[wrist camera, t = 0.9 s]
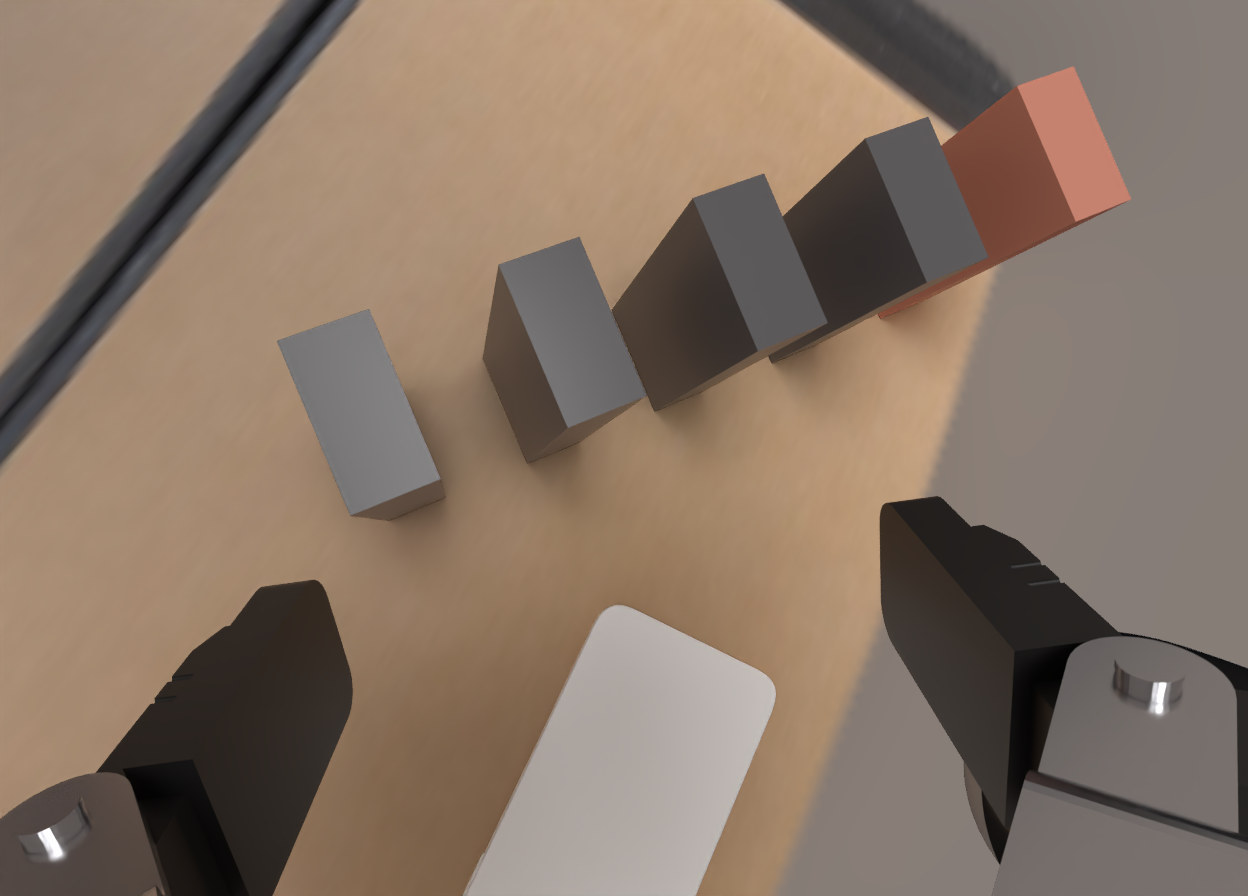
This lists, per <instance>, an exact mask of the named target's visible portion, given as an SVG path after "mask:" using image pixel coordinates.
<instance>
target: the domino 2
mask: <svg viewBox="0 0 1248 896" xmlns="http://www.w3.org/2000/svg"><path fill="white" fill-rule="evenodd" d="M483 360H484V363H485V365H486V367H487V370H488V372H489V374H490V377H491V379H492V381H493V384H494V386H495V389H496V391H497V393H498V396H499V398H500V400H501V403H502V405H503V407H504V410H505V412H506V415H507V417H508V419H509V422H510V424H511V426H512V429H513V431H514V433H515V436H516V438H517V441H518V443H519V445H520V448H521V450H522V452H523V455H524V457H525V460H526V462H527V464H528V463H530V462H533V461H535V460H538V459H540V458H542V457H545V456H547V455H550V454H552V453H554V452H557V451H559V450H562V449H564V448H567V447H569V446H571V445H574V444H576V443H579V442H580V441H582V440H583V439H585V438H586V437H588V436H589V435H591V434H592V433H593V432H595V431H596V430H598V429H599V428H601V427H602V426H604V425H605V424H607V423H608V422H609V421H611V420H612V419H614V418H615V417H617V416H618V415H620V414H621V413H623V412H624V411H625V410H627V409H628V408H630V407H631V406H633V405H634V404H636V403H637V402H639V401H640V400H641V399H643V398H644V397H646V396H647V395H646V393H645V390H644V388H643V385H642V383H641V381H640V378H639V376H638V374H637V371H636V369H635V367H634V364H633V362H632V360H631V357H630V355H629V353H628V350H627V348H626V345H625V343H624V341H623V338H622V336H621V334H620V331H619V329H618V327H617V324H616V322H615V320H614V317H613V315H612V313H611V310H610V308H609V305H608V303H607V301H606V298H605V296H604V294H603V291H602V289H601V287H600V284H599V282H598V280H597V277H596V275H595V272H594V270H593V268H592V265H591V263H590V261H589V258H588V256H587V254H586V251H585V249H584V247H583V244H582V242H581V240H580V237H577V238H574V239H571V240H569V241H566V242H563V243H560V244H557V245H554V246H551V247H548V248H545V249H543V250H540V251H537V252H534V253H531V254H528V255H525V256H522V257H519V258H517V259H514V260H511V261H508V262H505V263H502V264H499V266H498V272H497V277H496V283H495V289H494V295H493V301H492V307H491V313H490V318H489V324H488V330H487V336H486V342H485V348H484V354H483Z"/></svg>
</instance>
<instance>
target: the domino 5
mask: <svg viewBox="0 0 1248 896" xmlns="http://www.w3.org/2000/svg"><path fill="white" fill-rule="evenodd" d="M941 148H942V150H943V152H944V155H945V157H946V159H947V162H948V164H949V166H950V168H951V171H952V173H953V175H954V178H955V180H956V182H957V185H958V187H959V189H960V192H961V194H962V196H963V199H964V201H965V203H966V206H967V208H968V210H969V213H970V215H971V217H972V220H973V222H974V224H975V227H976V229H977V231H978V234H979V236H980V238H981V241H982V243H983V245H984V247H985V250H986V252H987V254H988V257H989V258H987V259H985V260H983V261H981V262H979V263H977V264H975V265H973V266H971V267H969V268H967V269H965V270H963V271H961V272H959V273H957V274H955V275H953V276H951V277H949V278H947V279H945V280H943V281H941V282H939V283H937V284H935V285H933V286H931V287H929V288H927V289H925V290H923V291H921V292H919V293H918V294H916V295H914V296H912V297H910V298H908V299H906V300H904V301H902V302H900V303H898V304H896V305H894V306H892V307H890V308H888V309H886V310H884V311H882V312H880V313H878V315H879V317H880V319H881V318H883V317H886V316H888V315H890V314H893V313H895V312H898V311H900V310H902V309H905V308H907V307H910V306H912V305H915V304H917V303H919V302H922V301H924V300H926V299H928V298H930V297H932V296H934V295H936V294H938V293H940V292H942V291H944V290H946V289H948V288H950V287H952V286H955V285H957V284H959V283H961V282H963V281H965V280H967V279H969V278H971V277H973V276H975V275H977V274H979V273H981V272H983V271H985V270H987V269H989V268H991V267H993V266H996V265H998V264H1000V263H1002V262H1004V261H1006V260H1008V259H1010V258H1012V257H1014V256H1016V255H1018V254H1020V253H1022V252H1024V251H1026V250H1028V249H1030V248H1032V247H1035V246H1037V245H1039V244H1041V243H1042V242H1045V241H1047V240H1049V239H1051V238H1053V237H1055V236H1057V235H1059V234H1061V233H1063V232H1065V231H1067V230H1069V229H1071V228H1073V227H1076V226H1078V225H1079V224H1082V223H1084V222H1086V221H1088V220H1090V219H1092V218H1094V217H1096V216H1098V215H1100V214H1102V213H1104V212H1106V211H1108V210H1110V209H1112V208H1114V207H1116V206H1119V205H1120V204H1123V203H1125V202H1127V201H1129V200H1131V197H1130V195H1129V193H1128V191H1127V188H1126V186H1125V184H1124V181H1123V179H1122V177H1121V174H1120V172H1119V170H1118V168H1117V165H1116V163H1115V161H1114V158H1113V156H1112V154H1111V152H1110V149H1109V147H1108V144H1107V142H1106V140H1105V138H1104V135H1103V133H1102V131H1101V128H1100V126H1099V124H1098V122H1097V119H1096V117H1095V115H1094V112H1093V110H1092V108H1091V105H1090V103H1089V101H1088V98H1087V96H1086V94H1085V92H1084V89H1083V87H1082V85H1081V82H1080V80H1079V78H1078V75H1077V73H1076V71H1075V68H1074V67H1070V68H1068V69H1065V70H1062V71H1059V72H1056V73H1053V74H1050V75H1047V76H1045V77H1042V78H1039V79H1036V80H1033V81H1031V82H1027V83H1024V84H1021V85H1018V86H1016V87H1015V88H1014V89H1013V90H1011V91H1010V92H1009V93H1008V94H1006V95H1005V96H1004V97H1003V98H1001V99H1000V100H999V101H997V102H996V103H995V104H994V105H992V106H991V107H990V108H989V109H987V110H986V111H985V112H983V113H982V114H981V115H980V116H978V117H977V118H976V119H975V120H973V121H972V122H971V123H969V124H968V125H967V126H966V127H964V128H963V129H962V130H961V131H959V132H958V133H957V134H956V135H954V136H953V137H952V138H950V139H949V140H948V141H947V142H945V143H944V144H943V145H942V146H941Z"/></svg>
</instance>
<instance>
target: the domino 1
mask: <svg viewBox="0 0 1248 896" xmlns="http://www.w3.org/2000/svg"><path fill="white" fill-rule="evenodd" d="M277 342H278V345H279V347H280V350H281V352H282V354H283V357H284V359H285V361H286V364H287V366H288V369H289V371H290V373H291V376H292V378H293V381H294V383H295V385H296V388H297V390H298V392H299V395H300V397H301V400H302V402H303V404H304V407H305V409H306V411H307V414H308V416H309V419H310V421H311V423H312V426H313V428H314V431H315V433H316V435H317V438H318V440H319V442H320V445H321V447H322V450H323V452H324V454H325V457H326V459H327V462H328V464H329V466H330V469H331V471H332V473H333V476H334V478H335V481H336V483H337V485H338V488H339V490H340V492H341V495H342V497H343V500H344V502H345V504H346V507H347V509H348V512H349V514H350V516H356V517H364V518H372V519H380V520H387V521H389V520H392V519H394V518H396V517H399V516H401V515H404V514H406V513H408V512H411V511H413V510H416V509H418V508H421V507H423V506H425V505H428V504H430V503H433V502H435V501H438V500H440V499H442V498H445V493H444V489H443V486H442V482H441V478H440V476H439V474H438V471H437V469H436V467H435V464H434V462H433V459H432V457H431V455H430V452H429V450H428V448H427V445H426V443H425V440H424V438H423V436H422V433H421V431H420V429H419V426H418V424H417V421H416V419H415V417H414V414H413V412H412V410H411V407H410V405H409V402H408V400H407V398H406V395H405V393H404V391H403V388H402V386H401V383H400V381H399V379H398V376H397V374H396V372H395V369H394V367H393V364H392V362H391V360H390V357H389V355H388V353H387V350H386V348H385V345H384V343H383V341H382V338H381V336H380V334H379V331H378V329H377V327H376V324H375V322H374V319H373V317H372V315H371V312H370V310H369V309H367V310H364V311H362V312H359V313H356V314H353V315H350V316H347V317H344V318H341V319H338V320H336V321H333V322H330V323H327V324H324V325H321V326H318V327H315V328H312V329H310V330H307V331H304V332H301V333H298V334H295V335H292V336H289V337H286V338H284V339H281V340H278V341H277Z"/></svg>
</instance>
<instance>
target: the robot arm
mask: <svg viewBox="0 0 1248 896" xmlns="http://www.w3.org/2000/svg"><path fill="white" fill-rule="evenodd" d="M880 574H881V606H882V613H883V618H884V622H885V626H886V629H887V632H888V635H889V638H890V640H891V642H892V644H893V645H894V647H895V649H896V651H897V652H898V654H899V655H900V657H901V659H902V660H903V662H904V664H905V665H906V667H907V669H908V670H909V672H910V673H911V675H912V677H913V679H914V680H915V682H916V683H917V685H918V687H919V688H920V690H921V692H922V693H923V695H924V697H925V698H926V700H927V701H928V703H929V705H930V706H931V708H932V710H933V711H934V713H935V714H936V716H937V718H938V719H939V721H940V723H941V724H942V726H943V728H944V729H945V730H946V733H947V734H948V736H949V737H950V739H951V741H952V742H953V744H954V746H955V747H956V749H957V750H958V752H959V754H960V755H961V757H962V759H963V760H964V762H965V764H966V765H967V767H968V769H969V770H970V772H971V773H972V775H973V777H974V778H975V780H976V782H977V783H978V785H979V787H980V788H981V790H982V791H983V793H984V795H985V796H986V798H987V800H988V801H989V803H990V805H991V806H992V808H993V809H994V811H995V813H996V814H997V816H998V818H999V819H1000V821H1001V823H1002V824H1003V826H1004V827H1011V829H1010V833H1009V836H1008V840H1007V843H1006V847H1005V850H1004V854H1003V857H1002V861H1001V864H1000V868H999V872H998V875H997V879H996V882H995V886H994V889H993V893H992V896H1248V691H1244V690H1235V689H1234V687H1233V686H1232V684H1231V682H1230V681H1229V680H1228V678H1227V677H1226V676H1225V675H1224V674H1223V673H1222V672H1221V671H1220V670H1219V669H1218V668H1216V667H1215V666H1214V665H1212V664H1211V663H1209V662H1208V661H1206V660H1205V659H1203V658H1201V657H1199V656H1197V655H1195V654H1194V653H1191V652H1189V651H1187V650H1184V649H1182V648H1179V647H1176V646H1173V645H1170V644H1167V643H1164V642H1159V641H1155V640H1151V639H1145V638H1138V637H1123V636H1122V635H1121V634H1120V633H1119V632H1118V631H1116V630H1115V629H1114V628H1113V627H1112V626H1111V625H1110V624H1109V623H1108V622H1107V621H1106V620H1104V619H1103V618H1102V617H1101V616H1100V615H1099V614H1098V613H1097V612H1096V611H1094V609H1092V608H1091V607H1090V606H1089V605H1088V604H1087V603H1086V602H1085V601H1084V600H1083V599H1081V598H1080V597H1079V596H1078V595H1077V594H1076V593H1075V592H1074V591H1073V590H1072V589H1070V588H1069V587H1068V586H1067V585H1066V584H1065V583H1060V581H1059V578H1058V577H1057V576H1056V575H1055V574H1054V573H1053V572H1052V571H1051V570H1050V569H1049V568H1048V567H1046V566H1045V565H1041V562H1040V560H1039V559H1038V558H1037V557H1035V556H1034V555H1033V554H1032V553H1031V552H1030V551H1029V550H1028V549H1027V548H1026V547H1025V546H1024V545H1022V544H1021V543H1020V542H1019V541H1018V540H1016V539H1014V538H1011V537H1009V536H1007V535H1005V534H1003V533H1000V532H998V531H996V530H994V529H992V528H989V527H987V526H985V525H979V526H972V527H970V525H968V523H967V522H965V520H964V519H963V518H961V517H960V516H959V515H958V514H957V513H956V512H955V511H954V510H953V509H952V508H951V507H950V506H949V505H948V504H947V503H946V502H945V501H944V500H943V499H942V498H941V497H938V496H935V497H928V498H920V499H913V500H906V501H898V502H891V503H885V504H884V505H883V506H882V509H881V513H880ZM352 695H353V688H352V677H351V672H350V668H349V665H348V661H347V658H346V655H345V652H344V649H343V645H342V642H341V639H340V636H339V632H338V629H337V626H336V623H335V619H334V616H333V613H332V610H331V606H330V603H329V600H328V597H327V594H326V592H325V589H324V588H323V586H322V585H321V584H320V583H319V582H318V581H316V580H309V581H302V582H294V583H287V584H280V585H272V586H265V587H261V588H259V589H258V590H257V591H256V592H255V594H254V595H253V596H252V598H251V599H250V600H249V602H248V603H247V604H246V605H245V607H244V608H243V609H242V611H241V612H240V613H239V615H238V616H237V617H236V619H235V620H234V621H233V623H232V624H231V625H230V626H225V627H224V628H222V629H221V630H220V631H218V632H217V633H216V634H214V635H213V636H212V637H210V638H209V639H208V640H206V641H205V642H204V643H202V644H201V645H200V646H198V647H197V648H196V649H194V650H193V651H192V652H191V653H190V655H189V656H188V657H187V658H186V660H185V661H184V662H183V663H182V665H181V666H180V667H179V668H178V670H177V671H176V672H175V673H174V675H173V676H172V682H167V684H166V685H165V686H164V687H163V689H162V690H161V691H160V692H159V694H158V695H157V696H156V697H155V704H150V705H149V706H148V708H147V709H146V710H145V711H144V713H143V714H142V715H141V716H140V718H139V719H138V720H137V721H136V723H135V724H134V725H133V726H132V728H131V729H130V730H129V731H128V733H127V734H126V735H125V737H124V738H123V739H122V740H121V742H120V743H119V744H118V745H117V747H116V748H115V749H114V750H113V752H112V753H111V754H110V755H109V757H108V758H107V759H106V760H105V762H104V763H103V764H102V766H101V767H100V768H99V769H98V771H97V772H96V773H93V774H86V775H83V776H79V777H75V778H72V779H69V780H66V781H64V782H61V783H59V784H56V785H54V786H52V787H49V788H47V789H45V790H43V791H42V792H40V793H38V794H36V795H34V796H32V797H31V798H29V799H27V800H26V801H24V802H23V803H21V804H20V805H18V806H17V807H15V808H14V809H13V810H11V811H10V812H8V813H7V814H6V815H5V816H4V817H2V818H1V819H0V896H272V895H273V893H274V891H275V888H276V886H277V884H278V881H279V879H280V877H281V874H282V872H283V870H284V867H285V865H286V863H287V860H288V858H289V856H290V853H291V851H292V848H293V846H294V844H295V841H296V839H297V837H298V834H299V832H300V830H301V827H302V825H303V823H304V820H305V818H306V816H307V813H308V811H309V809H310V806H311V804H312V801H313V799H314V797H315V794H316V792H317V790H318V787H319V785H320V783H321V780H322V778H323V776H324V773H325V771H326V769H327V766H328V764H329V762H330V759H331V757H332V754H333V752H334V750H335V747H336V745H337V743H338V740H339V738H340V736H341V733H342V731H343V729H344V726H345V724H346V722H347V719H348V717H349V714H350V710H351V705H352Z"/></svg>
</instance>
